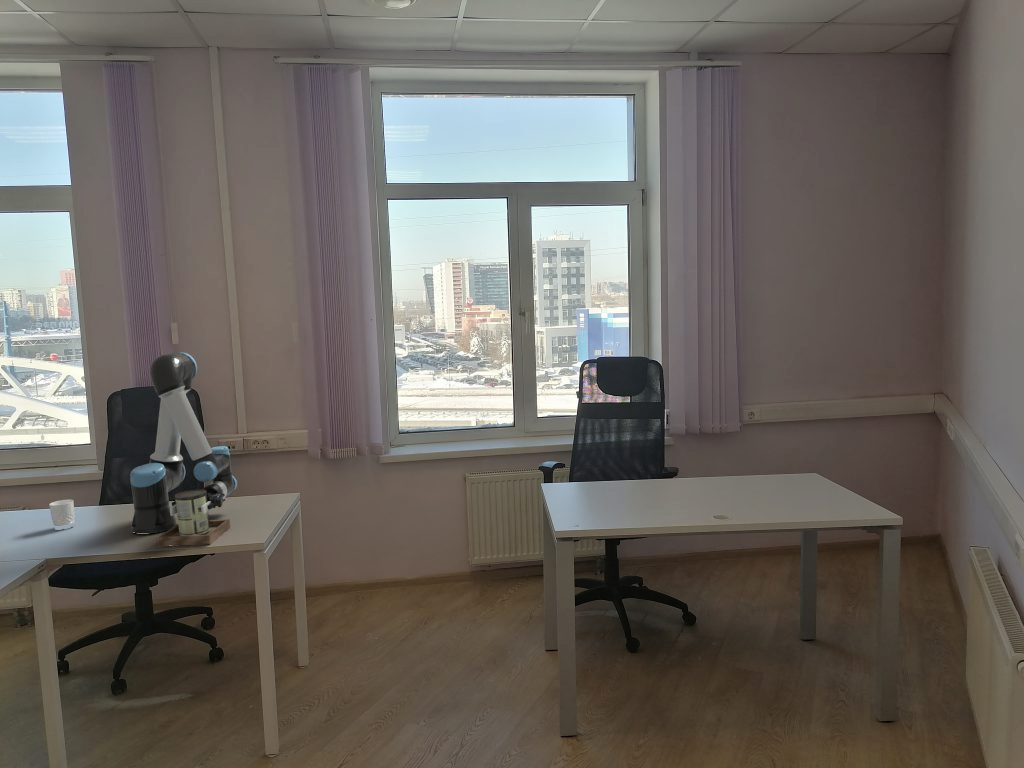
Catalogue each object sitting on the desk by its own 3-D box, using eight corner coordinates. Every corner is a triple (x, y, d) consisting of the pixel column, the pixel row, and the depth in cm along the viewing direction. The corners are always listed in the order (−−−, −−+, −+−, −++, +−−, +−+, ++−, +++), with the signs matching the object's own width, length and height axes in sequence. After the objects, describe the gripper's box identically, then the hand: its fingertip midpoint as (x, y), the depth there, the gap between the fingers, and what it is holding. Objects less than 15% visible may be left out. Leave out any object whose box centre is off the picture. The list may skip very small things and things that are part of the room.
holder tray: (158, 547, 258) (157, 538, 258) (181, 530, 276) (180, 521, 276) (210, 544, 258) (209, 535, 257) (230, 527, 276) (229, 519, 275)
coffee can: (187, 527, 272) (183, 489, 270) (215, 527, 271) (211, 488, 270) (173, 537, 262) (168, 497, 260) (201, 536, 261) (197, 496, 259)
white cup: (76, 528, 287) (73, 502, 285) (52, 532, 283) (49, 506, 281) (76, 523, 293) (73, 498, 292) (52, 527, 289) (49, 502, 288)
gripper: (244, 501, 283) (220, 519, 261) (183, 504, 284) (155, 523, 262) (242, 482, 283) (218, 498, 261) (181, 485, 283) (152, 502, 261)
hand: (186, 511), depth 261 cm, fingers open, 10 cm apart
